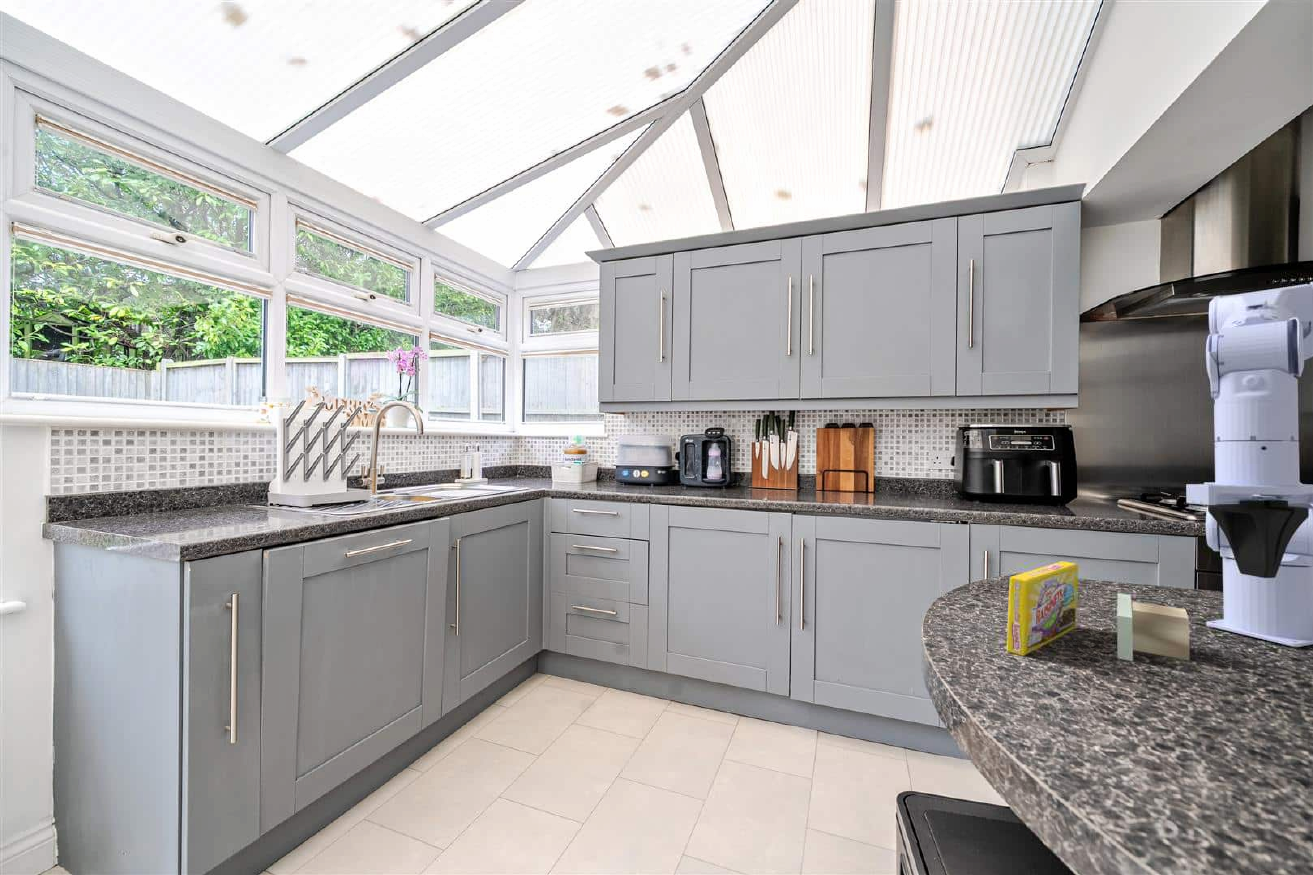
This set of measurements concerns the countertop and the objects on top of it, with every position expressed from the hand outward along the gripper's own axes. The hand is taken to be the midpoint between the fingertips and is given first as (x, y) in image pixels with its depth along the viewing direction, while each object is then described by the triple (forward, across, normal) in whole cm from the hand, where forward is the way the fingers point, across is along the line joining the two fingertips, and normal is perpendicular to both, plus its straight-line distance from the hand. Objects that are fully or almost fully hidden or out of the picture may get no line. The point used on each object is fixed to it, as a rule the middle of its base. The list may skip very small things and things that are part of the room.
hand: (1257, 575), depth 54 cm
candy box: (+10, +14, -11) cm, 20 cm away
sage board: (+9, +6, -8) cm, 14 cm away
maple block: (+10, +4, -6) cm, 12 cm away
